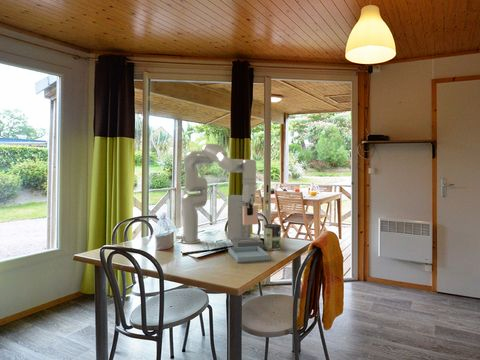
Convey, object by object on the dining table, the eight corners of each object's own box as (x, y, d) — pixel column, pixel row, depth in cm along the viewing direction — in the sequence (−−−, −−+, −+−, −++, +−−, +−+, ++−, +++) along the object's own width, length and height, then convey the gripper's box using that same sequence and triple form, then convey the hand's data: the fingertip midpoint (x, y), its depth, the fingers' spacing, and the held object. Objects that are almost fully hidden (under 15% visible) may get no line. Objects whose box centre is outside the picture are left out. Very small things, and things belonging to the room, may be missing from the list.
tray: (237, 262, 175) (237, 257, 175) (228, 252, 194) (228, 247, 194) (269, 260, 180) (269, 255, 180) (257, 251, 199) (258, 246, 199)
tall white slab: (227, 239, 228) (228, 195, 227) (230, 237, 234) (230, 194, 232) (247, 241, 224) (248, 196, 223) (249, 239, 230) (250, 195, 228)
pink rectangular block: (244, 225, 185) (244, 207, 184) (242, 224, 188) (242, 206, 187) (258, 224, 187) (257, 206, 187) (256, 223, 190) (256, 205, 190)
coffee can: (281, 246, 211) (281, 224, 210) (279, 250, 201) (280, 227, 200) (265, 245, 213) (265, 223, 212) (262, 249, 203) (263, 226, 202)
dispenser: (237, 251, 198) (237, 241, 197) (232, 246, 209) (232, 237, 209) (263, 249, 202) (263, 240, 202) (256, 245, 213) (257, 236, 213)
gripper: (238, 181, 193) (238, 212, 194) (247, 182, 177) (246, 217, 178) (251, 181, 195) (250, 212, 196) (260, 182, 179) (260, 216, 180)
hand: (248, 214), depth 187 cm, fingers closed on pink rectangular block, 2 cm apart
